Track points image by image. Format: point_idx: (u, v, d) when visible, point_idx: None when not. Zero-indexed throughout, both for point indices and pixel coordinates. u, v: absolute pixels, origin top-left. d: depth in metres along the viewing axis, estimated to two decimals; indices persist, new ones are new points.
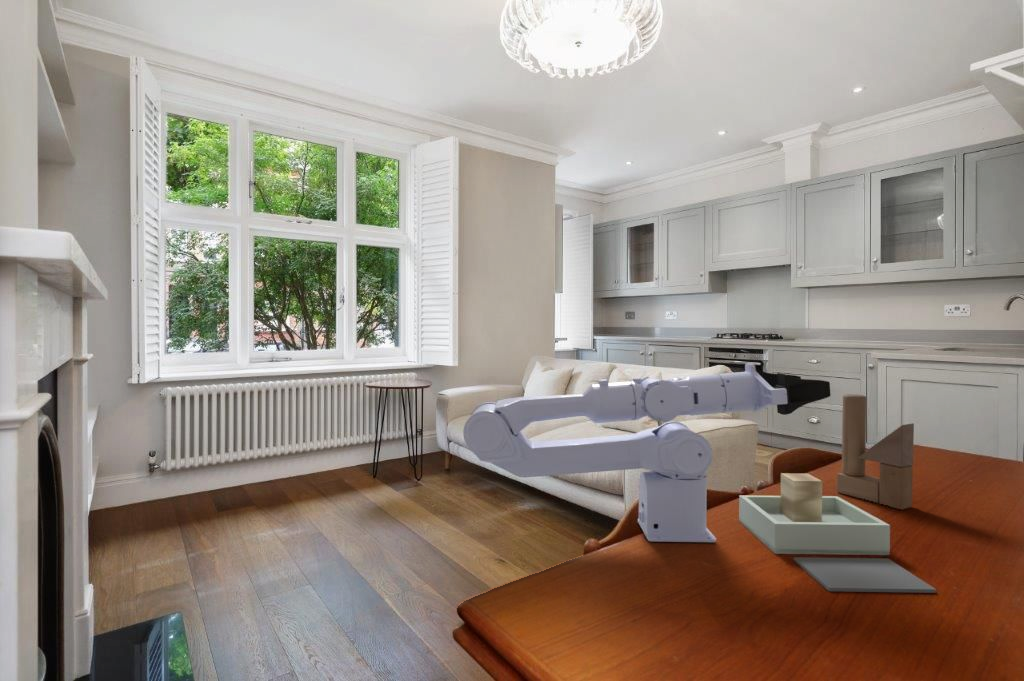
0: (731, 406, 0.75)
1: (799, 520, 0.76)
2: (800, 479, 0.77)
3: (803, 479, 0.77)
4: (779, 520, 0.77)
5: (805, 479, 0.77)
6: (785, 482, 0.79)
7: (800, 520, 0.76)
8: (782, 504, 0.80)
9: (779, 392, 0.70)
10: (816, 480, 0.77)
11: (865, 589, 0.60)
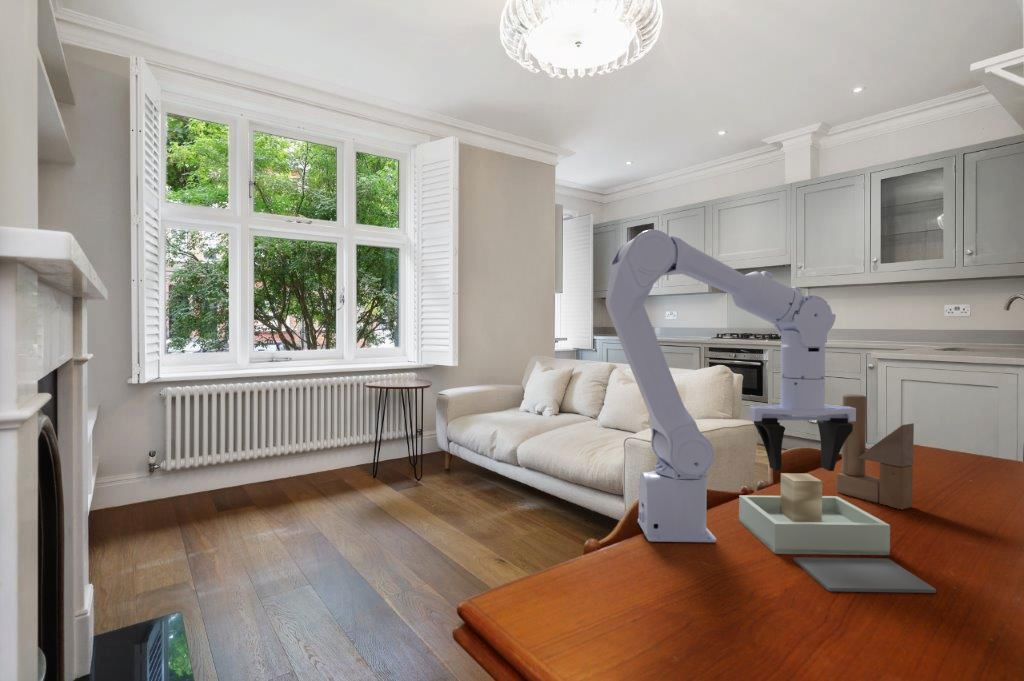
0: (824, 383, 0.76)
1: (799, 520, 0.76)
2: (800, 479, 0.77)
3: (803, 479, 0.77)
4: (779, 520, 0.77)
5: (805, 479, 0.77)
6: (785, 482, 0.79)
7: (800, 520, 0.76)
8: (782, 504, 0.80)
9: None
10: (816, 480, 0.77)
11: (865, 589, 0.60)
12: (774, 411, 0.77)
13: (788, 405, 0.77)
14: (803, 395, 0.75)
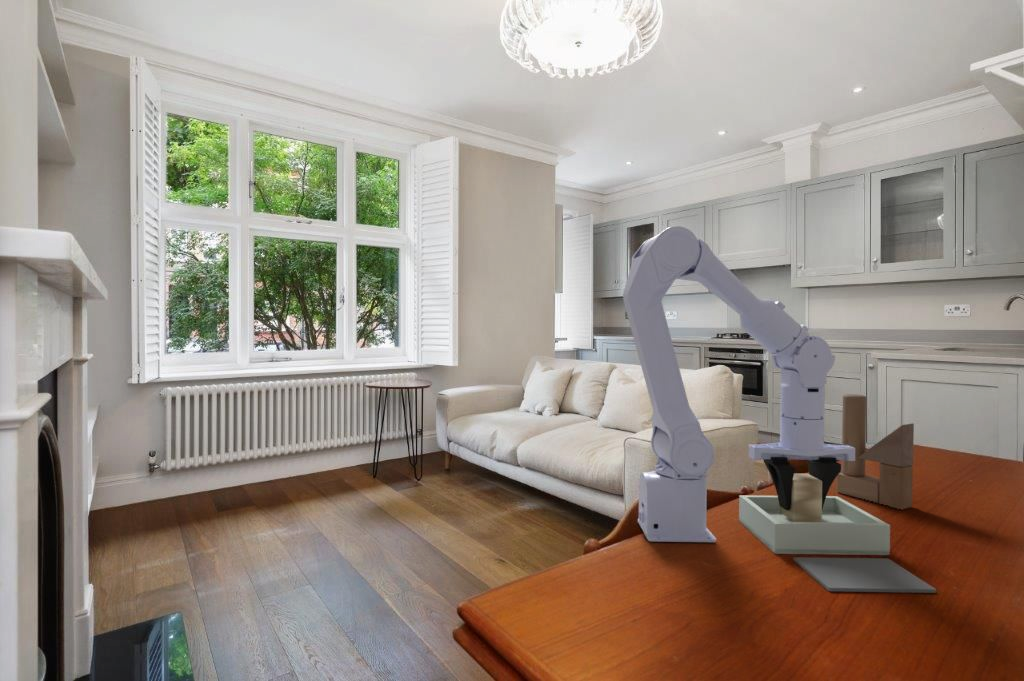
0: (823, 423, 0.76)
1: (799, 520, 0.76)
2: (800, 479, 0.77)
3: (803, 479, 0.77)
4: (779, 520, 0.77)
5: (805, 479, 0.77)
6: None
7: (800, 520, 0.76)
8: None
9: None
10: (816, 480, 0.77)
11: (865, 589, 0.60)
12: (773, 451, 0.77)
13: (787, 445, 0.77)
14: (802, 435, 0.75)
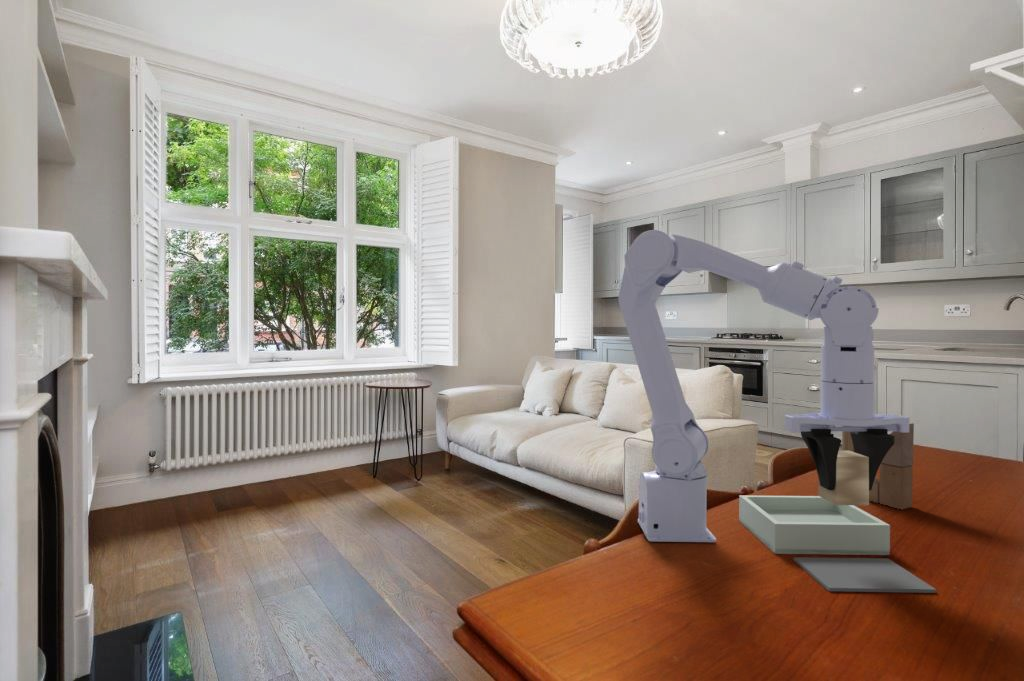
0: None
1: (843, 503, 0.66)
2: (842, 456, 0.66)
3: (846, 455, 0.67)
4: (779, 520, 0.77)
5: (848, 455, 0.67)
6: None
7: (844, 503, 0.66)
8: (821, 486, 0.69)
9: None
10: (861, 456, 0.66)
11: (865, 589, 0.60)
12: (815, 421, 0.66)
13: (831, 414, 0.66)
14: (849, 402, 0.65)
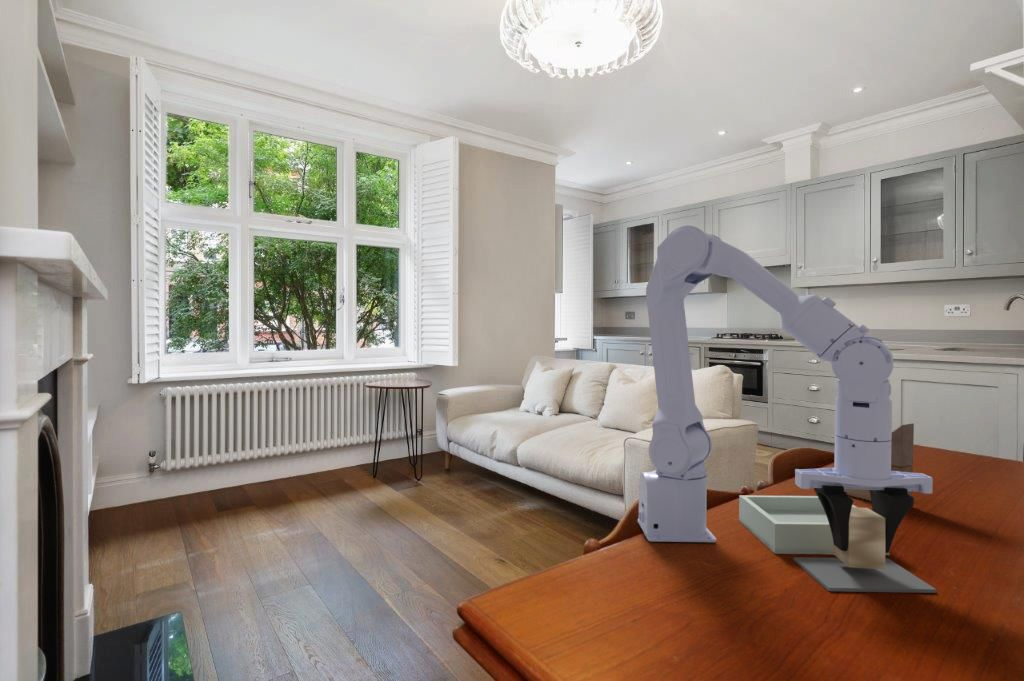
0: (890, 446, 0.62)
1: (856, 565, 0.63)
2: (856, 515, 0.63)
3: (861, 515, 0.64)
4: (779, 520, 0.77)
5: (863, 515, 0.64)
6: None
7: (857, 565, 0.63)
8: None
9: None
10: (878, 517, 0.63)
11: (865, 589, 0.60)
12: (826, 478, 0.63)
13: (843, 472, 0.63)
14: (862, 461, 0.61)
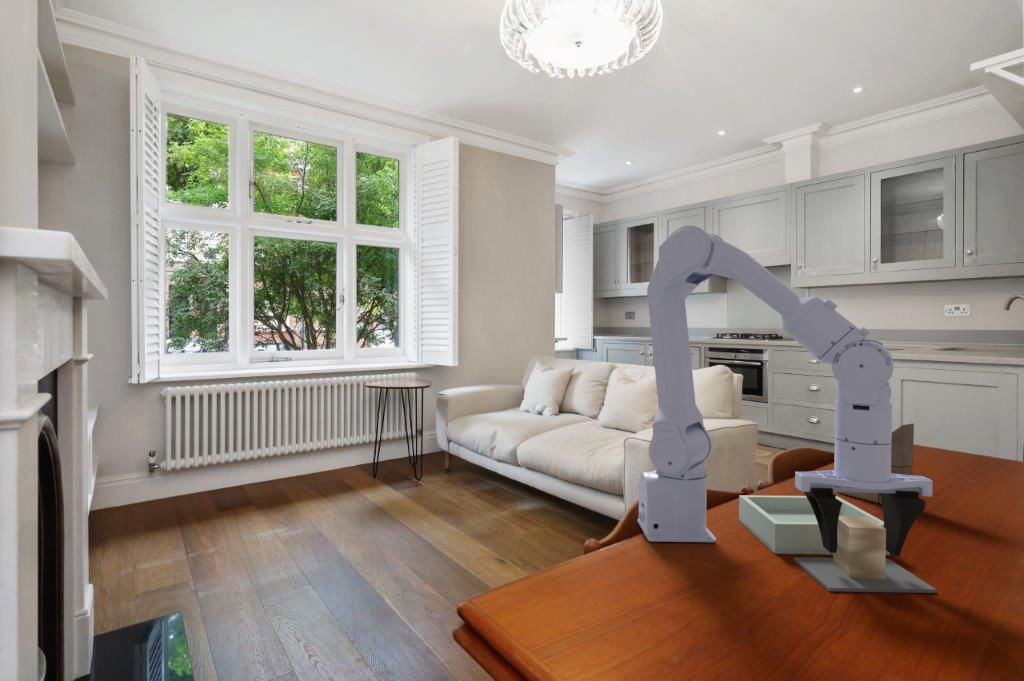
0: (890, 449, 0.62)
1: (856, 575, 0.63)
2: (857, 525, 0.63)
3: (861, 525, 0.63)
4: (779, 520, 0.77)
5: (864, 525, 0.63)
6: (839, 527, 0.65)
7: (857, 575, 0.63)
8: (835, 553, 0.66)
9: None
10: (878, 527, 0.63)
11: (865, 589, 0.60)
12: (826, 481, 0.63)
13: (843, 474, 0.63)
14: (862, 464, 0.61)
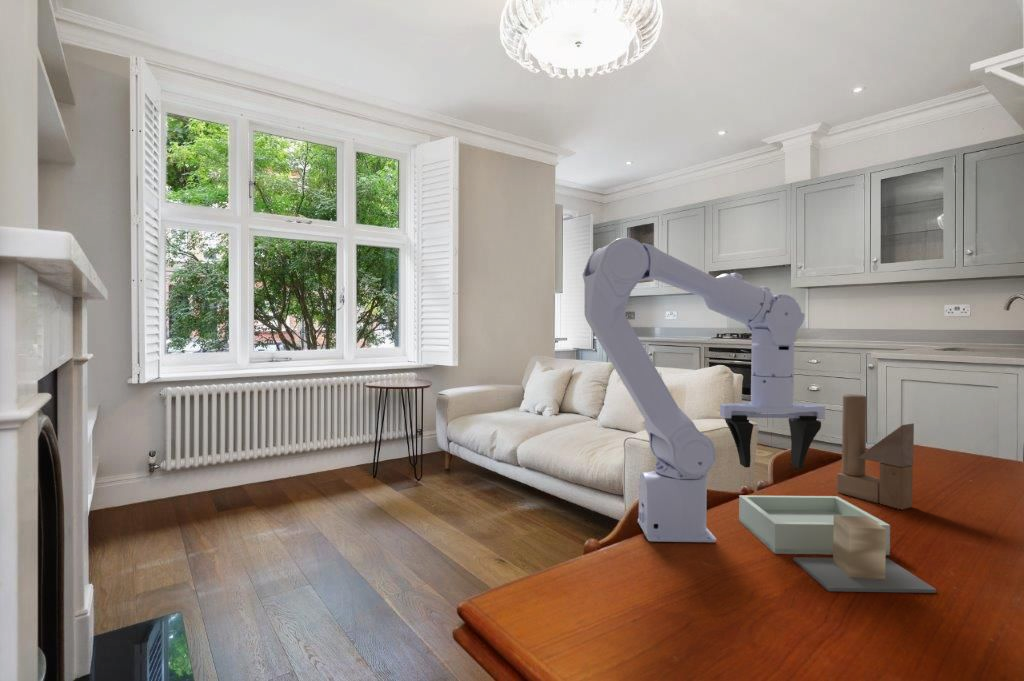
0: (793, 381, 0.77)
1: (856, 575, 0.63)
2: (857, 525, 0.63)
3: (861, 525, 0.63)
4: (779, 520, 0.77)
5: (864, 525, 0.63)
6: (839, 527, 0.65)
7: (857, 575, 0.63)
8: (835, 553, 0.66)
9: None
10: (878, 527, 0.63)
11: (865, 589, 0.60)
12: (743, 408, 0.78)
13: (757, 403, 0.78)
14: (771, 393, 0.76)
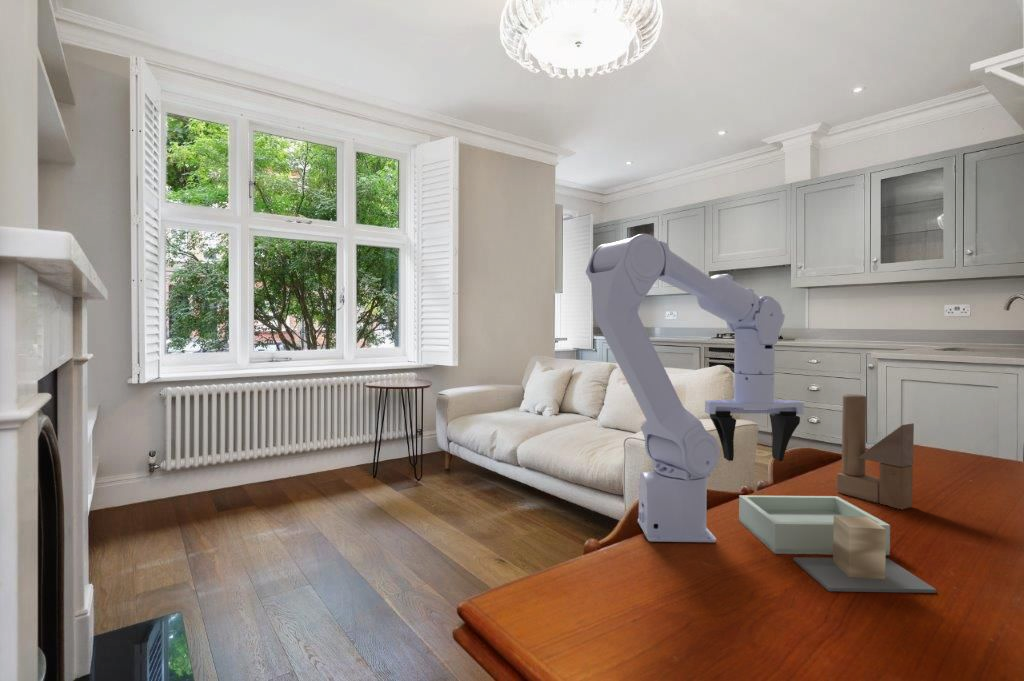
0: (773, 379, 0.81)
1: (856, 575, 0.63)
2: (857, 525, 0.63)
3: (861, 525, 0.63)
4: (779, 520, 0.77)
5: (864, 525, 0.63)
6: (839, 527, 0.65)
7: (857, 575, 0.63)
8: (835, 553, 0.66)
9: None
10: (878, 527, 0.63)
11: (865, 589, 0.60)
12: (727, 404, 0.82)
13: (740, 399, 0.82)
14: (753, 389, 0.80)
